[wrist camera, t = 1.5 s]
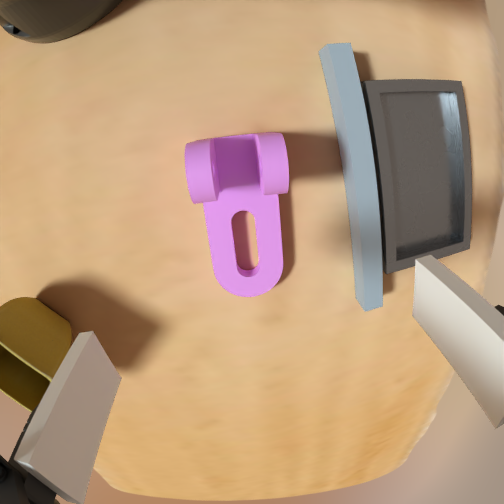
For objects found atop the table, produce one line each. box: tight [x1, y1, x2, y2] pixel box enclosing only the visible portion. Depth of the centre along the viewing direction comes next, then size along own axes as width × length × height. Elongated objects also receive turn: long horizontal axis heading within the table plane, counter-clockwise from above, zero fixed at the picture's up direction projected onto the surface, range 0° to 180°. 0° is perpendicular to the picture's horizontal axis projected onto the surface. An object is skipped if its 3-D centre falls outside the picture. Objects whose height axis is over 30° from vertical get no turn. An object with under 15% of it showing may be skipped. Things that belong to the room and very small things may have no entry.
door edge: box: [318, 43, 383, 311], centre depth 23 cm, size 22×2×2 cm, turn 13°
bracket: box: [185, 132, 289, 297], centre depth 21 cm, size 13×6×7 cm, turn 6°
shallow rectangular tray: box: [360, 79, 472, 274], centre depth 23 cm, size 16×10×2 cm, turn 13°
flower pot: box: [0, 297, 72, 412], centre depth 23 cm, size 9×9×9 cm
